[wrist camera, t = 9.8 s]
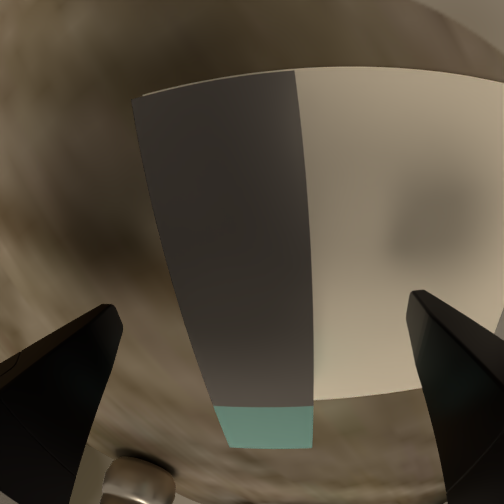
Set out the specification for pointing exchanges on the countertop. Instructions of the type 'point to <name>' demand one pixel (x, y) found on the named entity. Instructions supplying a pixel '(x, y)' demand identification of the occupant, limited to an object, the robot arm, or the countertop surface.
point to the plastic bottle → (137, 483)
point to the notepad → (397, 213)
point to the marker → (238, 246)
